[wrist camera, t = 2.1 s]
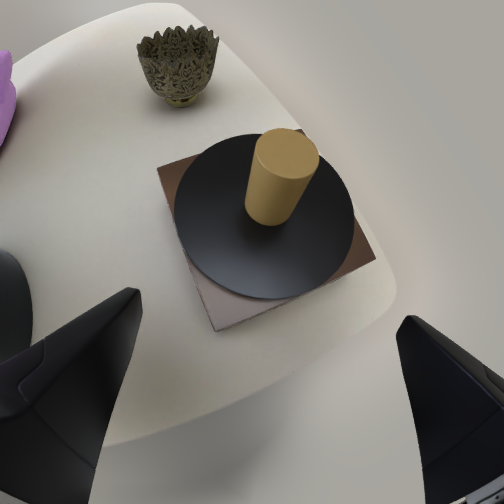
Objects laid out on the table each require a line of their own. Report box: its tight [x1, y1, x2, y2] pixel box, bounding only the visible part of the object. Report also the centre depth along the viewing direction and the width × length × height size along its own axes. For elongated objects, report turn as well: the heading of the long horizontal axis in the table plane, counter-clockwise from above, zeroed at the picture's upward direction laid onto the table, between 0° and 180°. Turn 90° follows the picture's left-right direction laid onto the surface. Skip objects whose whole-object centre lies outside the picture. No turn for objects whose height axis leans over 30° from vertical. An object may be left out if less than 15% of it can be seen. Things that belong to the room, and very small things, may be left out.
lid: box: [174, 128, 355, 301], centre depth 14 cm, size 11×11×6 cm
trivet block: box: [157, 129, 376, 332], centre depth 19 cm, size 11×11×5 cm
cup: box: [137, 25, 219, 107], centre depth 21 cm, size 8×7×8 cm
